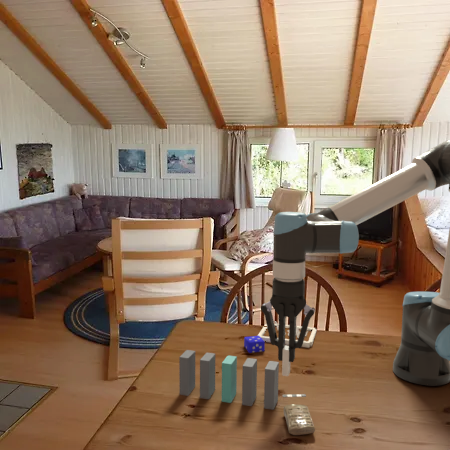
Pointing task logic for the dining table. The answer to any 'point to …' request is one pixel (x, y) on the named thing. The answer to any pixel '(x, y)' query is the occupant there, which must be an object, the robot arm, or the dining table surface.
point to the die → (254, 344)
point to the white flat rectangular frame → (305, 343)
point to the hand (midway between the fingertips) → (286, 373)
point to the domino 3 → (229, 378)
